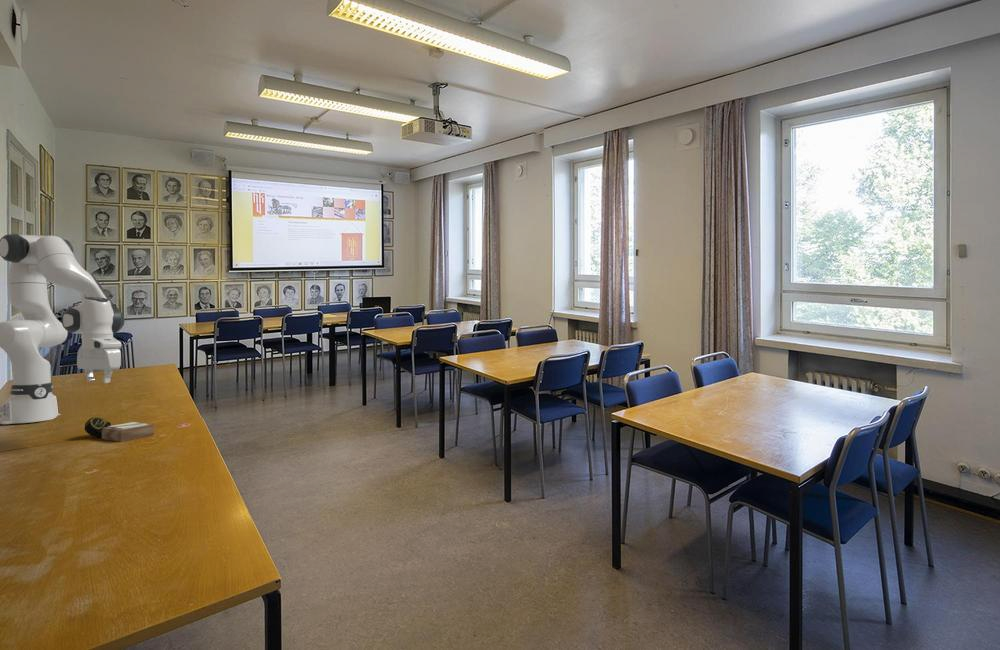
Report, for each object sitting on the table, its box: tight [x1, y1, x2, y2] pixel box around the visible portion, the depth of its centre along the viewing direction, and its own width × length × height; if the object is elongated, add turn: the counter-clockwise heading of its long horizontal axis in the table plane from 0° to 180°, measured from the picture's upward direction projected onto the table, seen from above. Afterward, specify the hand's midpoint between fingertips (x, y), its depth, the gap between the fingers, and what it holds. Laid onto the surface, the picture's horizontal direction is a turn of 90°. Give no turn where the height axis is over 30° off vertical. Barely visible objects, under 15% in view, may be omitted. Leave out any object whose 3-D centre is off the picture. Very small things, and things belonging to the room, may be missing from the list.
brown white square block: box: [101, 421, 155, 443], centre depth 187 cm, size 11×11×4 cm
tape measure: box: [84, 416, 112, 439], centre depth 187 cm, size 7×7×4 cm
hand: (98, 382), depth 187 cm, fingers open, 8 cm apart
